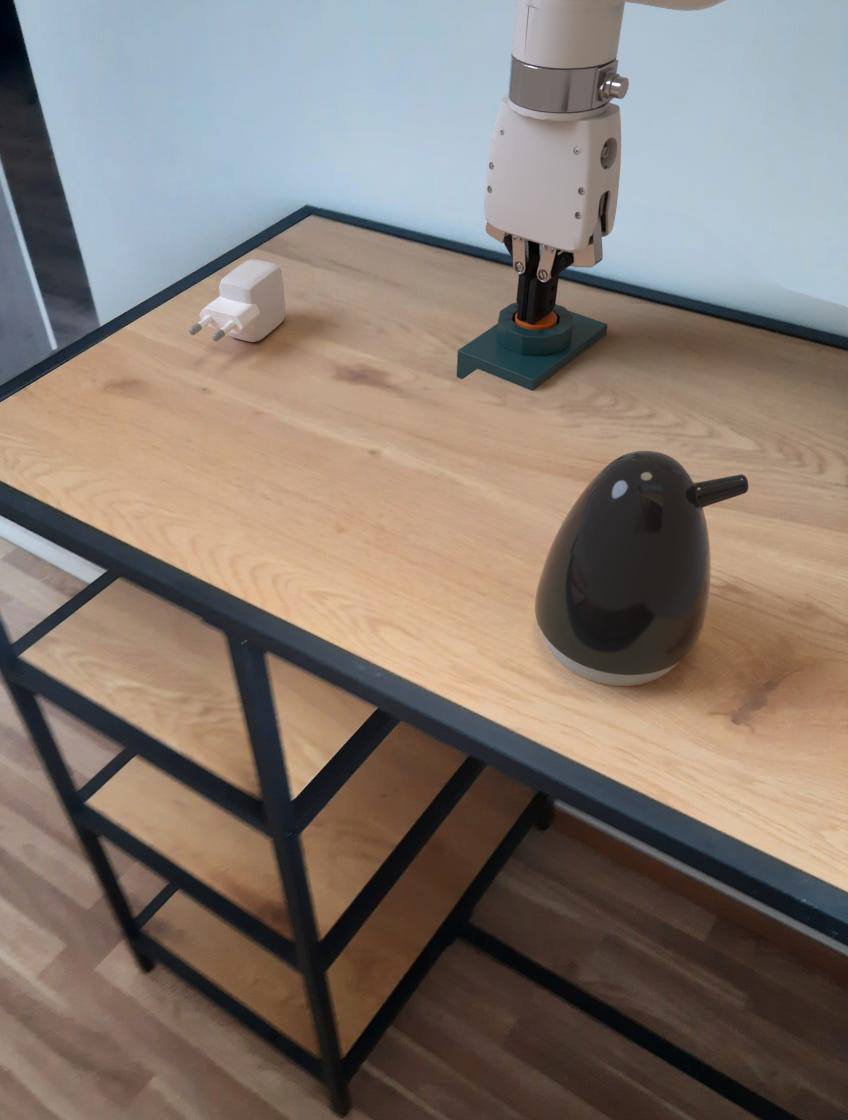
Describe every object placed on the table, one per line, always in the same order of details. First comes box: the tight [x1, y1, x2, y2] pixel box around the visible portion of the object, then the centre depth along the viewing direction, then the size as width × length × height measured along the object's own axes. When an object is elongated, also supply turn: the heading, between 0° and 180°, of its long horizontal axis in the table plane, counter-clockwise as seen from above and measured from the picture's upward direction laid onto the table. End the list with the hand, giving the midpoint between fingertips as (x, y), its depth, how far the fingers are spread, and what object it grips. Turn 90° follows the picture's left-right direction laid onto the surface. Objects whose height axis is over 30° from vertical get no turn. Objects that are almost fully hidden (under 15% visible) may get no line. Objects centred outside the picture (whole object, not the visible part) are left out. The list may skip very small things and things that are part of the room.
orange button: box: [515, 311, 557, 331], centre depth 83 cm, size 4×4×2 cm
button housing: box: [456, 302, 609, 392], centre depth 84 cm, size 12×8×4 cm, turn 139°
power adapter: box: [188, 258, 287, 343], centre depth 88 cm, size 11×5×6 cm, turn 151°
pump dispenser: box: [534, 450, 750, 687], centre depth 55 cm, size 10×10×15 cm
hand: (534, 315), depth 82 cm, fingers closed
